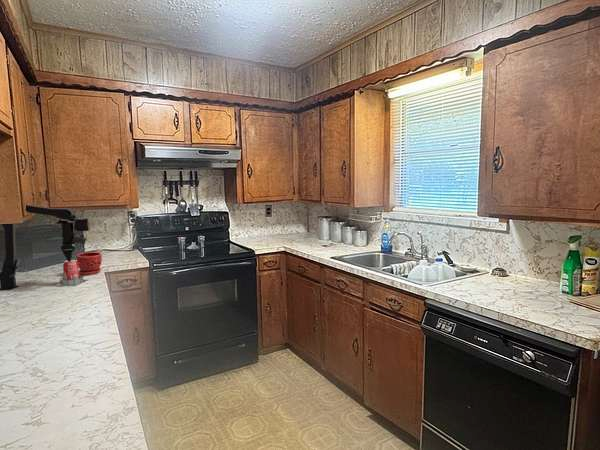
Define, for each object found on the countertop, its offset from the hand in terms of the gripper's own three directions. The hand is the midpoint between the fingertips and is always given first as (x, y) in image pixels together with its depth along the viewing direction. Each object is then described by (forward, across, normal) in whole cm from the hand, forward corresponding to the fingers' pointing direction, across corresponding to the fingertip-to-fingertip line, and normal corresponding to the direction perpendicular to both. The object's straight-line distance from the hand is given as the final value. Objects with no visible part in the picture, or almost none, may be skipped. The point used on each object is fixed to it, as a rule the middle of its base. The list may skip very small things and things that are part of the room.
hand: (69, 260), depth 199 cm
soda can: (+13, 0, 0) cm, 13 cm away
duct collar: (+13, 0, 0) cm, 13 cm away
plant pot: (+13, +19, -9) cm, 25 cm away
